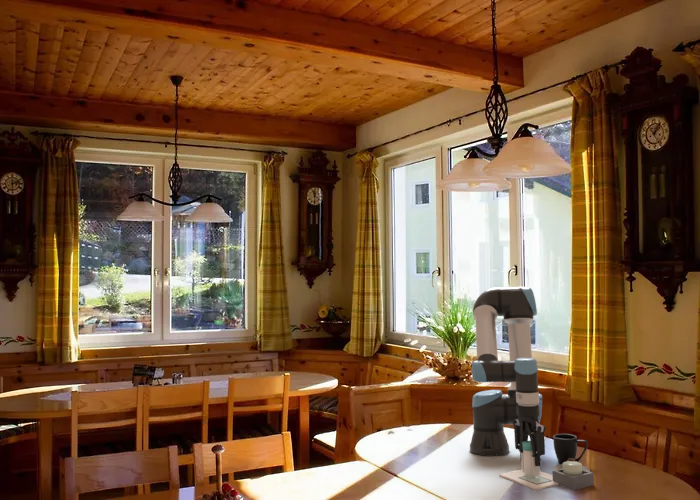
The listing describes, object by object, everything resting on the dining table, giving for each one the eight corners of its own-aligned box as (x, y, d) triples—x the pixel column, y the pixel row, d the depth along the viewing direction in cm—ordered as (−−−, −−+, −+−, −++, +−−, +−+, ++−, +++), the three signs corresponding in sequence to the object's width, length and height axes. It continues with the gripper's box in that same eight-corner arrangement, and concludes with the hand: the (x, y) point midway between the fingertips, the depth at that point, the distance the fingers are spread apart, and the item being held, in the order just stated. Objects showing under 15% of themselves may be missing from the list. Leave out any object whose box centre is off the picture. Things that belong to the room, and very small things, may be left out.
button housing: (552, 482, 214) (552, 470, 214) (572, 478, 218) (572, 466, 218) (573, 490, 206) (573, 477, 206) (593, 485, 210) (593, 472, 210)
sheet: (499, 475, 223) (499, 473, 223) (530, 469, 230) (530, 467, 230) (536, 490, 207) (536, 487, 207) (568, 482, 214) (568, 480, 214)
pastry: (585, 479, 218) (585, 465, 218) (549, 474, 224) (549, 461, 225) (593, 469, 228) (592, 456, 229) (558, 465, 235) (558, 452, 235)
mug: (584, 468, 228) (583, 441, 228) (551, 464, 235) (549, 437, 236) (591, 463, 235) (590, 436, 235) (559, 458, 242) (557, 432, 242)
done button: (559, 475, 213) (558, 463, 214) (572, 472, 216) (571, 460, 216) (573, 480, 208) (572, 467, 208) (586, 477, 211) (585, 464, 211)
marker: (521, 475, 220) (520, 441, 221) (531, 474, 222) (529, 440, 222) (528, 478, 217) (526, 443, 217) (538, 477, 218) (536, 442, 219)
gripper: (501, 401, 227) (505, 469, 225) (537, 409, 211) (541, 482, 210) (518, 399, 230) (521, 465, 229) (554, 406, 215) (558, 478, 213)
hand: (530, 473), depth 219 cm, fingers open, 4 cm apart
